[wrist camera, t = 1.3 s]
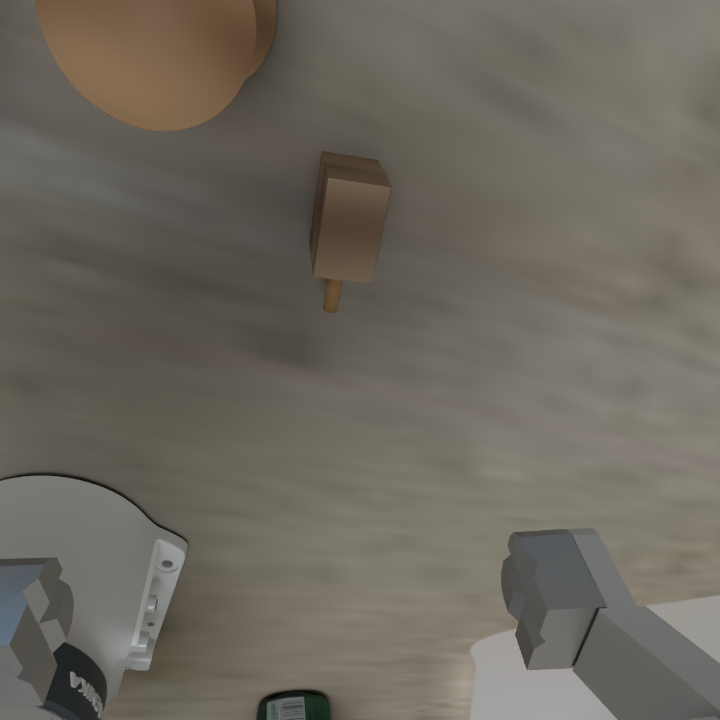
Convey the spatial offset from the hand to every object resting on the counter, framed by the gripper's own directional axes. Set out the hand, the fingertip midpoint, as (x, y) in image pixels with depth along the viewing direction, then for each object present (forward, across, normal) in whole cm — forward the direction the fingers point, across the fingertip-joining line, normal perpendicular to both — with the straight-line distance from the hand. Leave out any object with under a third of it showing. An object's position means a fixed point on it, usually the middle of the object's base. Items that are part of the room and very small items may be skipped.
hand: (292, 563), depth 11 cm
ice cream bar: (+25, -2, +3) cm, 25 cm away
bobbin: (+25, +4, -8) cm, 26 cm away
